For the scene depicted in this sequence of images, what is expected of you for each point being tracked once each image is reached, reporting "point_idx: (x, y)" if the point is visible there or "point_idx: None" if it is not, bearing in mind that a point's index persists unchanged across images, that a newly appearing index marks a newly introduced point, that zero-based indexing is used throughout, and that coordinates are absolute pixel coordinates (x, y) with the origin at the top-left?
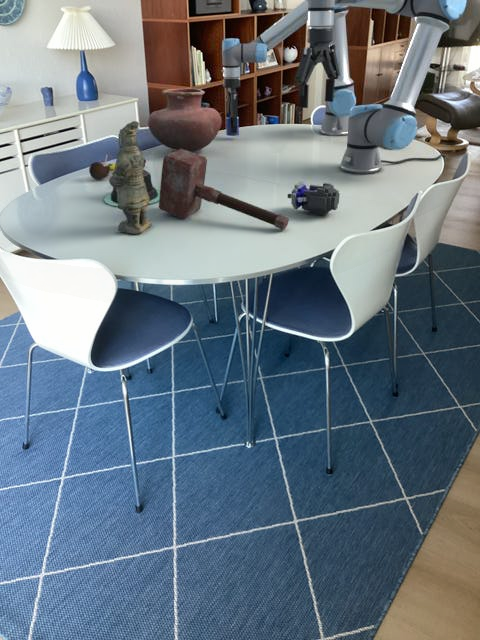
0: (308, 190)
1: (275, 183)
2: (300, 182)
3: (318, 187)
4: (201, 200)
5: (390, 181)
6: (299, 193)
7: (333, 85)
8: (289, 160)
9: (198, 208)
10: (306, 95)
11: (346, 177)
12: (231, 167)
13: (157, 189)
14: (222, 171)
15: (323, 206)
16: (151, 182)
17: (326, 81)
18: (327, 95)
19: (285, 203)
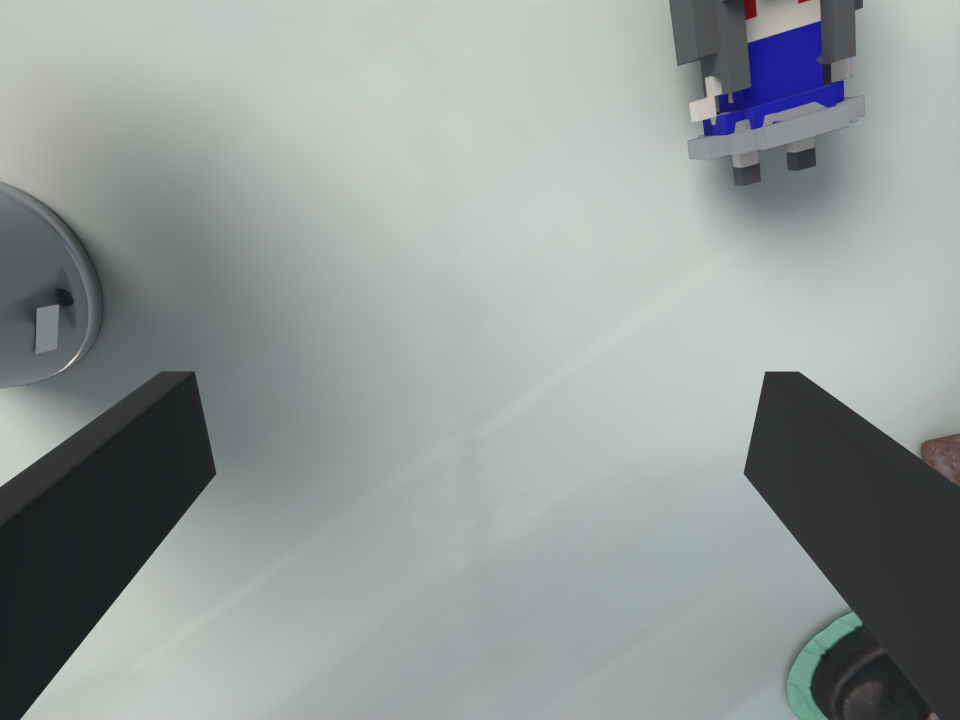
0: (837, 31)
1: (466, 440)
2: (788, 128)
3: (744, 25)
4: (958, 450)
5: (27, 18)
6: (838, 84)
7: (9, 503)
8: (171, 584)
9: (948, 438)
10: (914, 463)
11: (164, 255)
12: (412, 670)
13: (796, 669)
14: (474, 662)
15: None
16: (903, 679)
17: (29, 695)
18: (169, 487)
19: (669, 243)
